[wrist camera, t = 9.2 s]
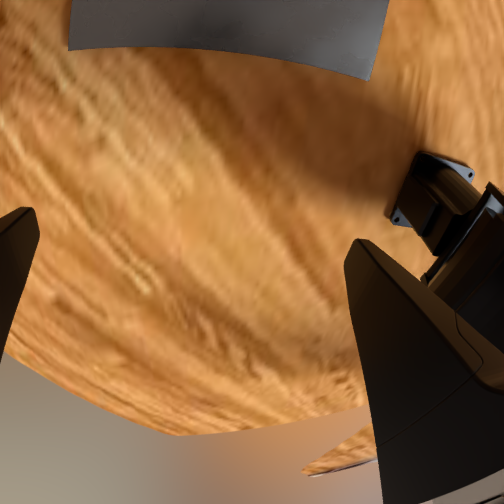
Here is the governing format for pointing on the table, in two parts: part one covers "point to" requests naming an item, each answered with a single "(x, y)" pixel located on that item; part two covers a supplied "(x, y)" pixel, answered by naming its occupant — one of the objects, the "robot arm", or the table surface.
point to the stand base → (240, 28)
